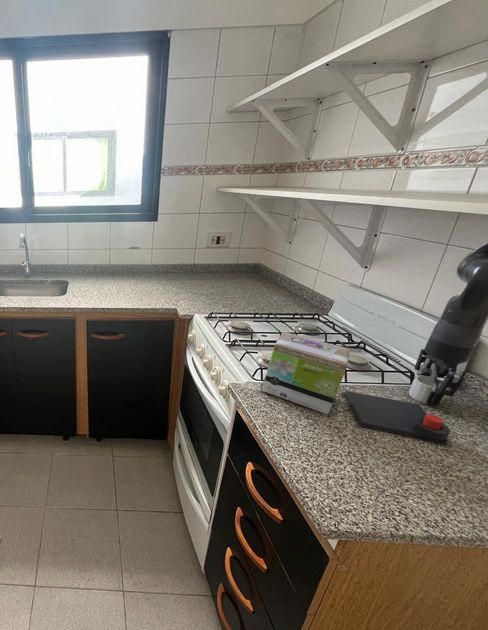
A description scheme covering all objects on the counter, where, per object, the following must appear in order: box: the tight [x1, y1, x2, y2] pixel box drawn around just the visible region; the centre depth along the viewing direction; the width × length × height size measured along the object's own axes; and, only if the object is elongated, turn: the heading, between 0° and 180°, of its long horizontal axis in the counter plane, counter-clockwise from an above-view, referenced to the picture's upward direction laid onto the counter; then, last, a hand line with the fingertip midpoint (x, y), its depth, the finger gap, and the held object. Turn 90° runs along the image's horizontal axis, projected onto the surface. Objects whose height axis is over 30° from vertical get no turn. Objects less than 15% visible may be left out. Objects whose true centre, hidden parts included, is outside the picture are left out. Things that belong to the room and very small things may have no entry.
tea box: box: [261, 331, 351, 415], centre depth 88 cm, size 15×10×15 cm
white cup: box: [408, 375, 447, 406], centre depth 88 cm, size 6×6×5 cm
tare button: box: [422, 413, 445, 430], centre depth 76 cm, size 3×3×2 cm
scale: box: [343, 390, 451, 445], centre depth 82 cm, size 15×14×3 cm
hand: (424, 396), depth 89 cm, fingers closed on white cup, 6 cm apart
